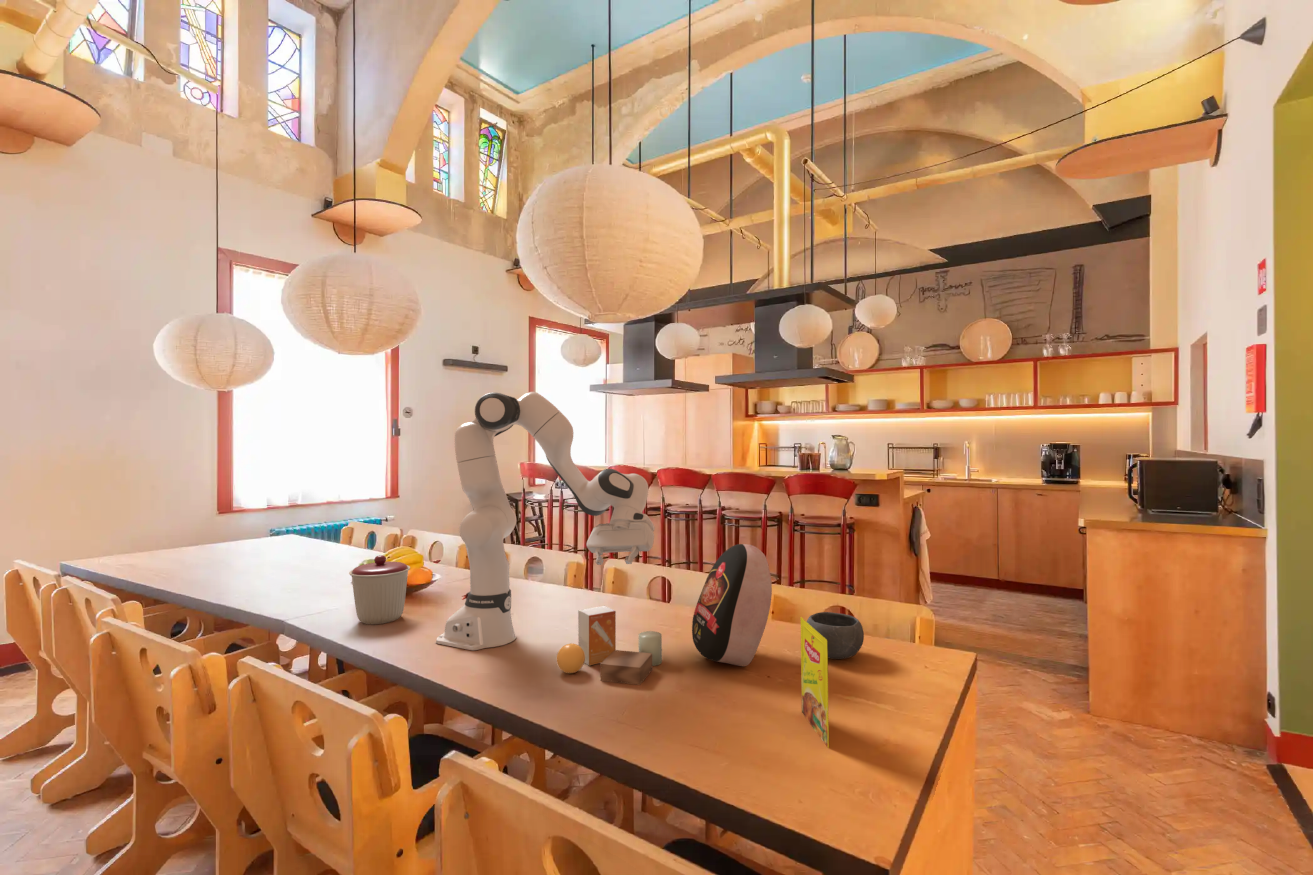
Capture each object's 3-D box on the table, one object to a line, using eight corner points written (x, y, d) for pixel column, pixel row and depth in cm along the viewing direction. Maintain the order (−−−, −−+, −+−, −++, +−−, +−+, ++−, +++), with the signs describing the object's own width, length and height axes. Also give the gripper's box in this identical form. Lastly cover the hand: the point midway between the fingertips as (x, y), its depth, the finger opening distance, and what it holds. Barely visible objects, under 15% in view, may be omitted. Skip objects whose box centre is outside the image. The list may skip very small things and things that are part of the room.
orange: (551, 676, 148) (551, 647, 148) (564, 665, 155) (563, 638, 155) (578, 679, 146) (578, 649, 146) (589, 668, 153) (589, 640, 153)
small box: (589, 666, 154) (588, 615, 155) (577, 659, 160) (577, 609, 160) (616, 659, 159) (616, 610, 159) (605, 652, 164) (604, 604, 164)
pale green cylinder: (635, 664, 155) (635, 637, 155) (642, 656, 161) (642, 630, 161) (658, 666, 154) (657, 639, 154) (664, 658, 159) (664, 632, 160)
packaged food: (683, 648, 167) (681, 539, 167) (749, 642, 172) (748, 536, 172) (709, 678, 146) (708, 553, 146) (784, 670, 150) (783, 549, 151)
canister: (396, 609, 210) (396, 548, 210) (420, 619, 198) (419, 554, 198) (341, 620, 197) (340, 555, 197) (362, 632, 185) (361, 563, 185)
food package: (799, 711, 127) (798, 616, 128) (804, 711, 127) (803, 616, 128) (825, 748, 112) (824, 640, 112) (831, 747, 112) (830, 639, 112)
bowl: (867, 650, 164) (866, 613, 164) (860, 670, 150) (860, 629, 150) (811, 643, 170) (810, 608, 170) (800, 661, 156) (799, 622, 156)
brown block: (600, 680, 145) (600, 663, 145) (614, 665, 155) (614, 649, 155) (640, 684, 142) (640, 667, 142) (652, 669, 152) (652, 653, 152)
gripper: (590, 518, 181) (576, 558, 172) (651, 514, 173) (640, 556, 164) (599, 530, 185) (586, 569, 176) (660, 527, 177) (649, 568, 168)
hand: (613, 563), depth 170 cm, fingers open, 8 cm apart
